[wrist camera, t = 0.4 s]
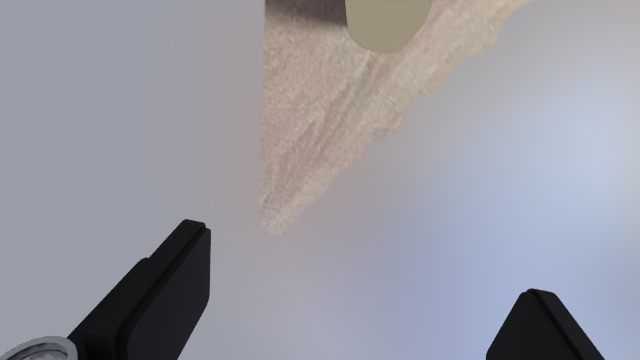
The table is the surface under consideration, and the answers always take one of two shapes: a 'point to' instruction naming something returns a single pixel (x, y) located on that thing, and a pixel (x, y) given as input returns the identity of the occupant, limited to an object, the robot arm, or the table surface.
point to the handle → (385, 22)
